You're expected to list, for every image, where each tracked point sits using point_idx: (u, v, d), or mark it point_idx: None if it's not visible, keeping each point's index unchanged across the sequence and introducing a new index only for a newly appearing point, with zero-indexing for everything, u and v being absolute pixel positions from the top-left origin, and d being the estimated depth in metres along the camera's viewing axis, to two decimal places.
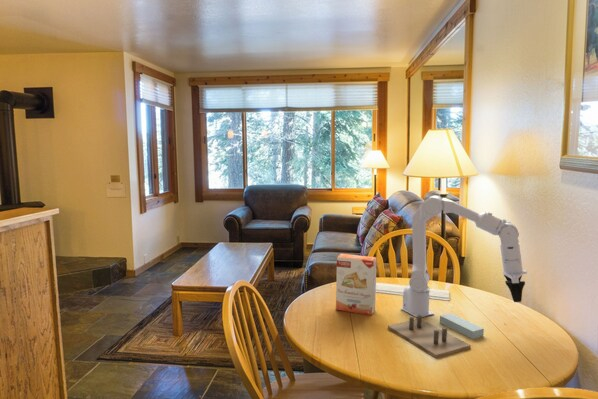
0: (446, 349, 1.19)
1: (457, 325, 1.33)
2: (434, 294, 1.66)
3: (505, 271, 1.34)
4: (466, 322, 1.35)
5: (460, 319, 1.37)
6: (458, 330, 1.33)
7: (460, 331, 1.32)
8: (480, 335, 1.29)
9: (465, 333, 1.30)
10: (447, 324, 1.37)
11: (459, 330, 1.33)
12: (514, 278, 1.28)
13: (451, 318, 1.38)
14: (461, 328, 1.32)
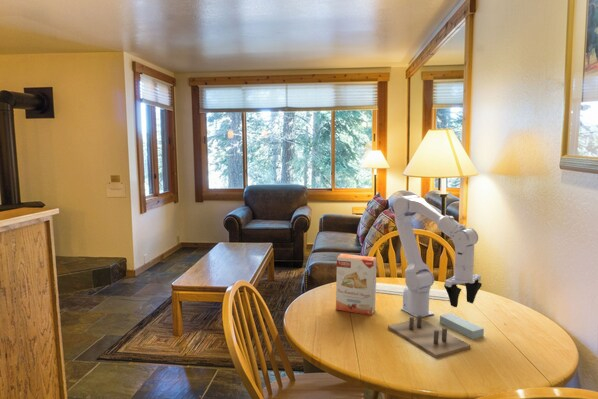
0: (446, 349, 1.19)
1: (457, 325, 1.33)
2: (434, 294, 1.66)
3: None
4: (466, 322, 1.35)
5: (460, 319, 1.37)
6: (458, 330, 1.33)
7: (460, 331, 1.32)
8: (480, 335, 1.29)
9: (465, 333, 1.30)
10: (447, 324, 1.37)
11: (459, 330, 1.33)
12: (446, 281, 1.30)
13: (451, 318, 1.38)
14: (461, 328, 1.32)
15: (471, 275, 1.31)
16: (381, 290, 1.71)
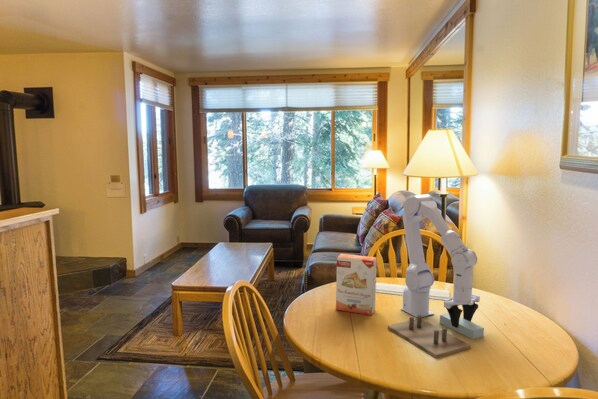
0: (446, 349, 1.19)
1: None
2: (434, 294, 1.66)
3: (453, 295, 1.35)
4: (466, 321, 1.35)
5: (460, 318, 1.37)
6: (458, 329, 1.33)
7: (460, 330, 1.32)
8: (480, 334, 1.29)
9: (465, 332, 1.30)
10: (447, 323, 1.37)
11: (459, 329, 1.32)
12: (445, 303, 1.31)
13: None
14: (462, 327, 1.32)
15: (470, 296, 1.32)
16: (381, 290, 1.71)
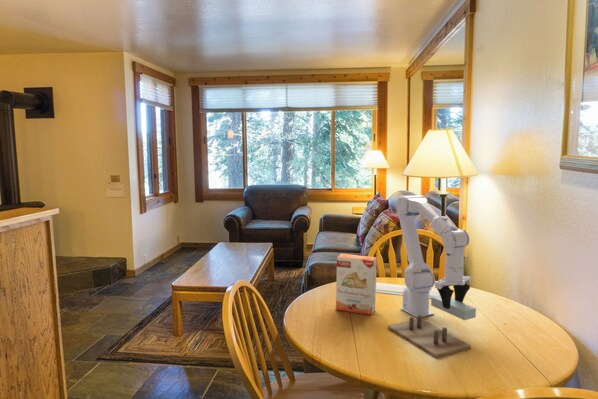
0: (446, 349, 1.19)
1: None
2: (434, 294, 1.66)
3: None
4: (458, 302, 1.32)
5: (452, 300, 1.34)
6: (450, 311, 1.30)
7: (452, 311, 1.29)
8: (472, 315, 1.27)
9: (457, 313, 1.27)
10: (439, 305, 1.34)
11: (451, 311, 1.30)
12: (437, 283, 1.28)
13: None
14: (453, 308, 1.29)
15: (461, 277, 1.29)
16: (381, 290, 1.71)
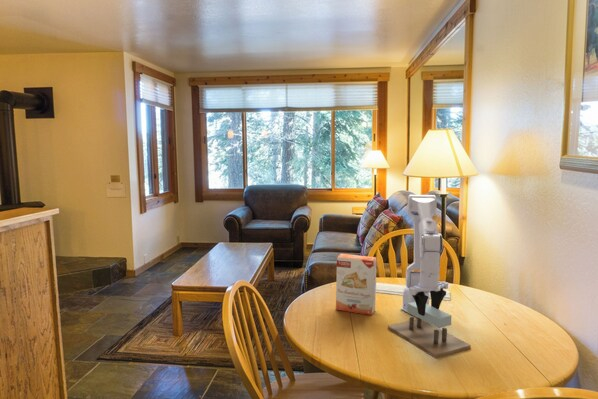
0: (446, 349, 1.19)
1: None
2: None
3: None
4: (433, 309, 1.27)
5: (428, 306, 1.29)
6: (425, 318, 1.25)
7: (427, 319, 1.25)
8: (447, 322, 1.22)
9: (432, 321, 1.23)
10: (414, 312, 1.30)
11: (426, 318, 1.25)
12: (411, 289, 1.24)
13: None
14: (428, 316, 1.24)
15: (437, 282, 1.24)
16: (381, 290, 1.71)
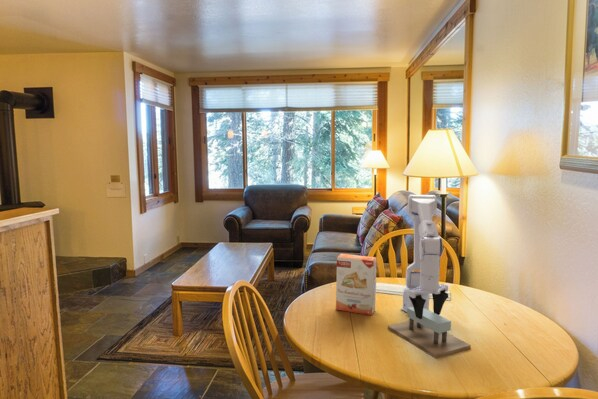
0: (446, 349, 1.19)
1: (424, 318, 1.26)
2: None
3: None
4: (433, 314, 1.27)
5: (428, 311, 1.30)
6: (425, 323, 1.26)
7: (427, 324, 1.25)
8: (447, 328, 1.22)
9: (431, 326, 1.23)
10: (414, 317, 1.30)
11: (426, 323, 1.25)
12: (411, 292, 1.24)
13: None
14: (428, 321, 1.24)
15: (437, 285, 1.24)
16: (381, 290, 1.71)
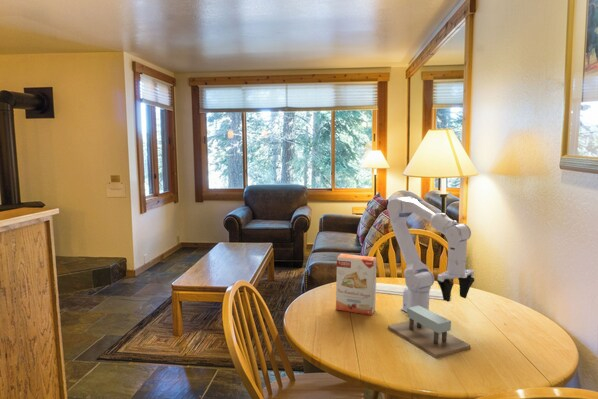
0: (446, 349, 1.19)
1: (424, 318, 1.26)
2: (435, 294, 1.66)
3: None
4: (433, 314, 1.27)
5: (428, 311, 1.30)
6: (425, 323, 1.26)
7: (427, 324, 1.25)
8: (447, 328, 1.22)
9: (431, 326, 1.23)
10: (414, 317, 1.30)
11: (426, 323, 1.25)
12: (439, 276, 1.32)
13: (418, 310, 1.31)
14: (428, 321, 1.24)
15: (464, 270, 1.32)
16: (382, 290, 1.71)
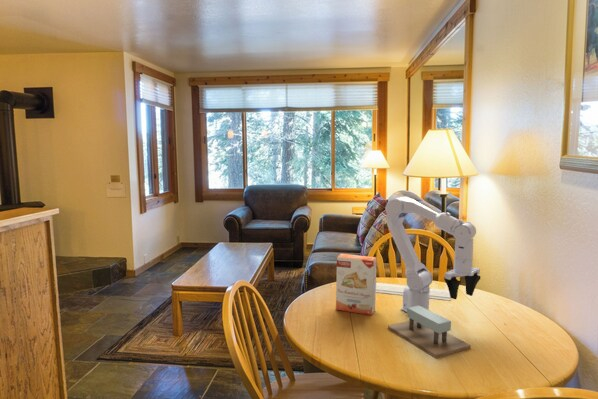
0: (446, 349, 1.19)
1: (424, 318, 1.26)
2: (435, 294, 1.66)
3: (454, 268, 1.38)
4: (433, 314, 1.27)
5: (428, 311, 1.30)
6: (425, 323, 1.26)
7: (427, 324, 1.25)
8: (447, 328, 1.22)
9: (431, 326, 1.23)
10: (414, 317, 1.30)
11: (426, 323, 1.25)
12: (446, 274, 1.34)
13: (418, 310, 1.31)
14: (428, 321, 1.24)
15: (470, 268, 1.35)
16: (382, 290, 1.71)
